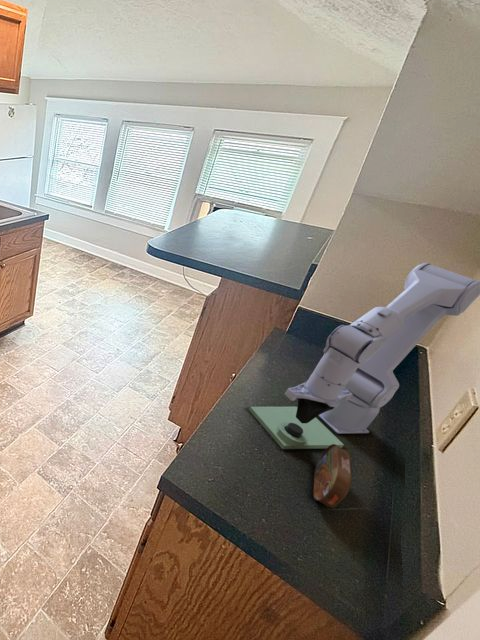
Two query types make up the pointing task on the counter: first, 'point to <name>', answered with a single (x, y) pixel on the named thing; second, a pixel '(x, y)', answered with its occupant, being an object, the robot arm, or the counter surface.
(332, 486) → the tin
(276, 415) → the pale green flat piece
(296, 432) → the button
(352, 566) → the counter surface
